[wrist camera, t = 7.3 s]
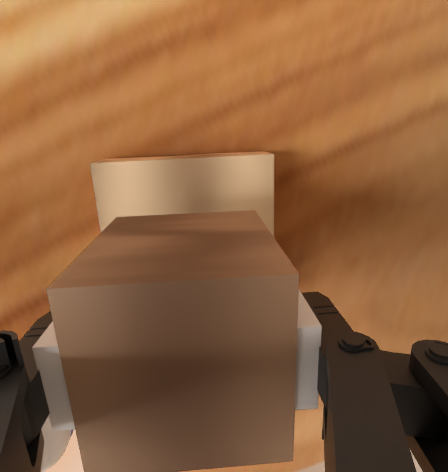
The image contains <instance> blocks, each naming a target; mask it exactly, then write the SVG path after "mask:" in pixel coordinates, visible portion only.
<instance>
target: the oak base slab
mask: <svg viewBox="0 0 448 472" xmlns="http://www.w3.org/2000/svg"><path fill="white" fill-rule="evenodd" d="M90 167H91V174H92V180H93V186H94V193H95V199H96V206H97V212H98V218H99V225H100V231H101V232H102V231H103V230H104V229H105V228H106V227H107V226H108V225H109V224H110V223H111V222H112V221H113V220H114V219H115V218H116V217H126V216H146V215H167V214H187V213H207V212H227V211H248V210H255V211H256V212H257V214H258V215H259V217H260V218H261V219H262V221H263V222H264V224H265V225H266V227H267V228H268V230H269V231H270V232H271V234H272V235H273V237H274V154H272V153H269V152H266V151H254V152H233V153H213V154H193V155H172V156H152V157H131V158H111V159H102V160H99V161H96V162H92V163H90Z"/></svg>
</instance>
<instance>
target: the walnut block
mask: <svg viewBox="0 0 448 472" xmlns="http://www.w3.org/2000/svg"><path fill="white" fill-rule="evenodd" d="M46 291H47V295H48V300H49V305H50V310H51V315H52V319H53V324H54V329H55V334H56V339H57V343H58V348H59V353H60V358H61V363H62V367H63V372H64V377H65V382H66V387H67V391H68V396H69V401H70V406H71V411H72V415H73V420H74V425H75V430H76V435H77V439H78V444H79V449H80V454H81V458H82V463H83V468H84V472H178V471H189V470H201V469H212V468H223V467H234V466H245V465H257V464H268V463H279V462H290V461H293V447H294V417H295V387H296V357H297V326H298V296H299V273H298V271H297V270H296V268H295V267H294V266H293V264H292V263H291V261H290V260H289V258H288V257H287V256H286V254H285V253H284V251H283V250H282V248H281V247H280V245H279V244H278V243H277V241H276V240H275V238H274V237H273V235H272V234H271V232H270V231H269V230H268V228H267V227H266V225H265V224H264V222H263V221H262V219H261V218H260V217H259V215H258V214H257V212H256V211H255V210H248V211H227V212H207V213H187V214H167V215H146V216H126V217H116V218H115V219H114V220H113V221H112V222H111V223H110V224H109V225H108V226H107V227H106V228H105V229H104V230H103V231H102V232H101V233H100V234H99V235H98V236H97V237H96V238H95V239H94V240H93V241H92V243H91V244H90V245H89V246H88V247H87V248H86V249H85V250H84V251H83V252H82V253H81V254H80V255H79V256H78V257H77V258H76V259H75V260H74V261H73V262H72V263H71V264H70V265H69V266H68V267H67V268H66V269H65V270H64V271H63V272H62V273H61V274H60V275H59V276H58V277H57V278H56V279H55V280H54V281H53V282H52V284H51V285H50V286H49V287H48V288H47V289H46Z"/></svg>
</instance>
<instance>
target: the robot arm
mask: <svg viewBox="0 0 448 472" xmlns="http://www.w3.org/2000/svg"><path fill="white" fill-rule="evenodd" d="M318 392H319V395H320V397H321V399H322V401H323V404H324V410H323V428H322V439H323V440H324V455H325V472H416V468H415V465H414V462H413V459H412V456H411V452H410V450H411V451H412V453H413V455H414V457H415V459H416V460H417V462H418V464H419V465H420V467H421V469H422V471H423V472H448V343H446V342H441V341H437V340H422V341H417V342H416V343H414V344H413V345H412V349H411V355H409V354H402V353H394V352H387V351H382V350H380V349H379V347H378V345H377V344H376V342H375V341H374V340H373V339H371V338H370V337H368V336H366V335H364V334H361V333H358V332H354V331H353V330H352V329H351V327H350V326H349V325H348V323H347V322H346V321H345V319H344V318H343V317H342V315H341V314H340V313H339V311H338V310H337V309H336V307H334V305H333V304H332V302H331V301H330V300H329V298H328V297H326V296H324V295H322V294H321V293H319V292H306V293H301V292H300V290H299V296H298V326H297V357H296V387H295V410H304V409H316V408H318ZM48 415H49V419H50V423H51V427H52V431H62V430H74V429H75V425H74V420H73V415H72V411H71V406H70V401H69V396H68V391H67V387H66V382H65V377H64V372H63V367H62V363H61V358H60V353H59V348H58V343H57V339H56V334H55V329H54V324H53V319H52V315H51V311H50V312H49V313H47V314H46V315H44V316H42V317H41V318H39V319H38V320H37V321H36V322H35V323H34V325H33V326H32V327H31V328H30V330H28V331H27V333H26V334H25V335H24V338H21V340H20V341H19V340H18V336H17V334H16V333H14V332H13V331H5V330H4V331H0V472H41V464H42V457H43V449H44V437H43V433H42V427H43V425H44V423H45V421H46V419H47V417H48ZM409 448H410V449H409Z"/></svg>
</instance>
